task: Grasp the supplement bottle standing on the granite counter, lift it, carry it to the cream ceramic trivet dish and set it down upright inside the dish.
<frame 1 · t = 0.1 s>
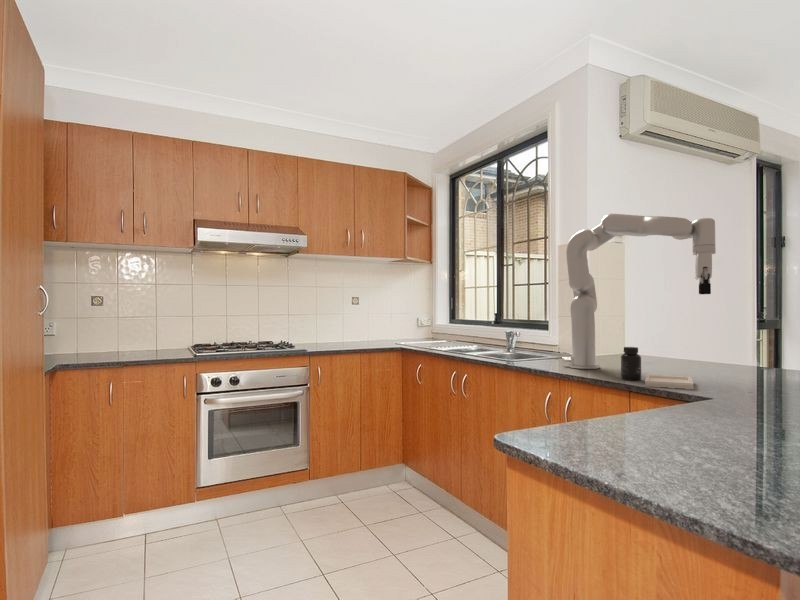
hand: (704, 294, 185), 31 cm above the worktop, fingers open, 9 cm apart
trivet dish: (668, 384, 164), on the worktop
supplement bottle: (631, 380, 175), on the worktop
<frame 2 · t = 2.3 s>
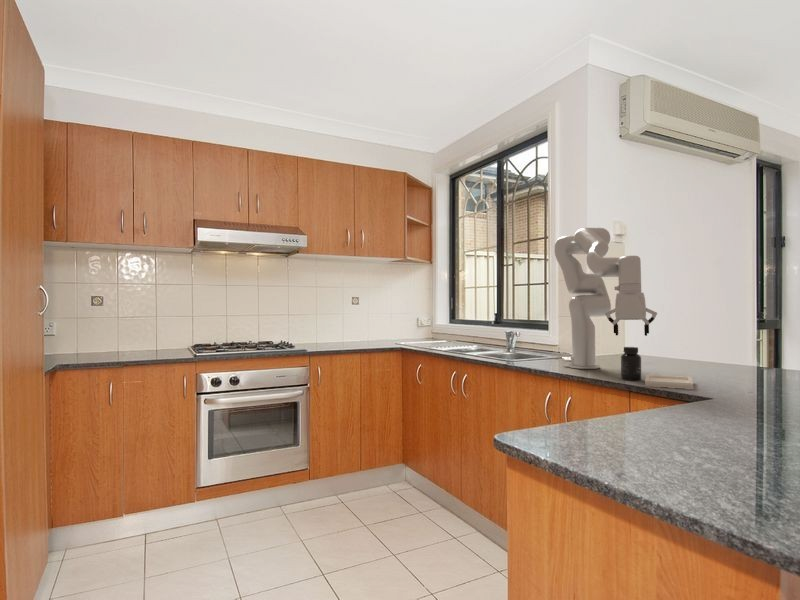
hand: (631, 335, 175), 16 cm above the worktop, fingers open, 9 cm apart
nothing on the worktop moved.
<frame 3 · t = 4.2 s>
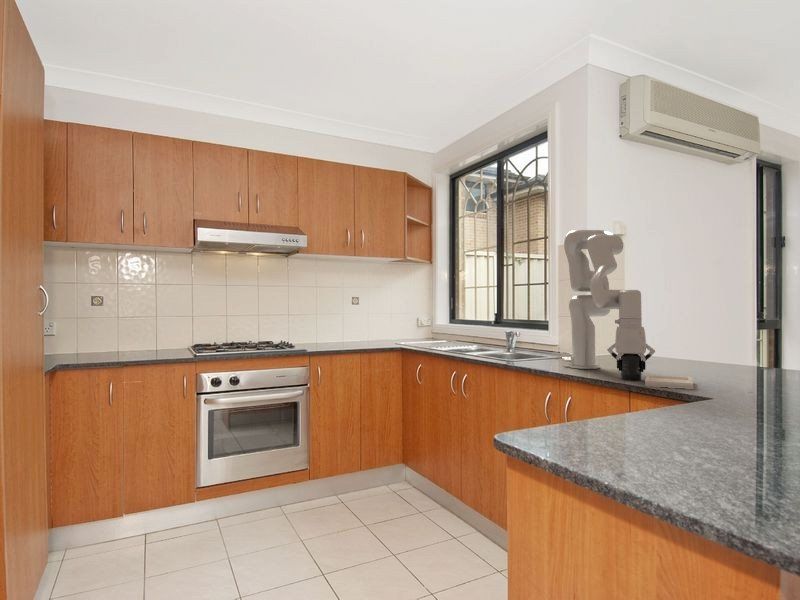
hand: (631, 370, 175), 3 cm above the worktop, fingers closed on supplement bottle, 6 cm apart
supplement bottle: (631, 380, 175), on the worktop, touching gripper
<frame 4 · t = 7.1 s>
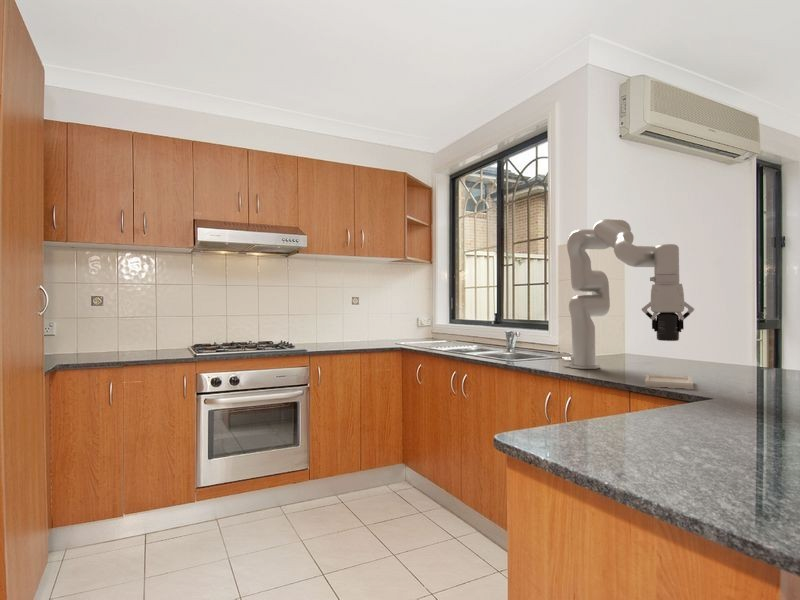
hand: (667, 331, 164), 19 cm above the worktop, fingers closed on supplement bottle, 6 cm apart
supplement bottle: (667, 340, 164), point 15 cm above the worktop, touching gripper
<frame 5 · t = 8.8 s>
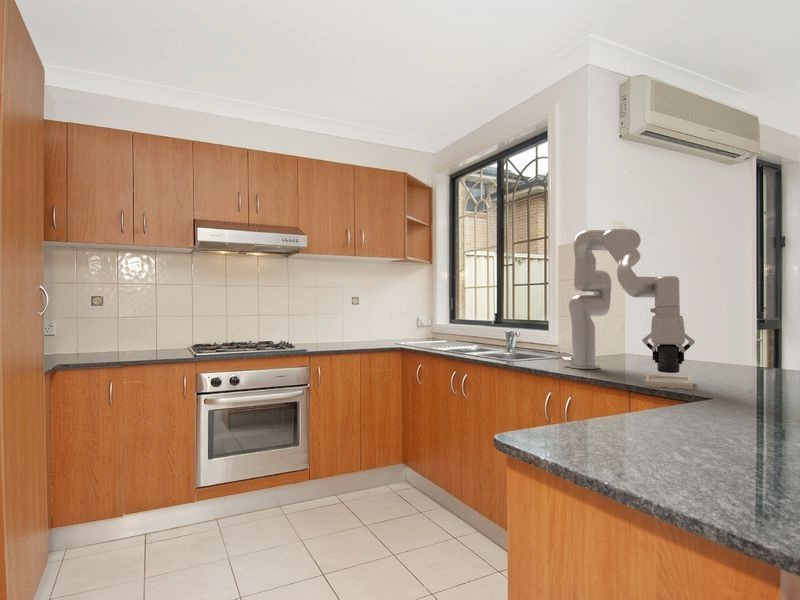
hand: (668, 362, 164), 8 cm above the worktop, fingers closed on supplement bottle, 6 cm apart
supplement bottle: (668, 372, 164), point 4 cm above the worktop, touching gripper
when the fingers open (5 cm above the worktop, at t = 10.3 s): supplement bottle stays where it is, resting on trivet dish.
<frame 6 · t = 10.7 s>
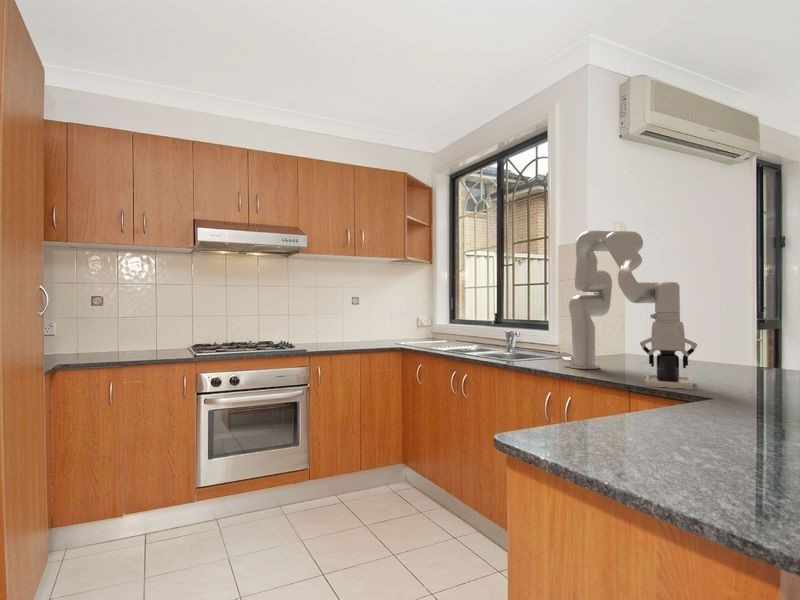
hand: (668, 367, 164), 6 cm above the worktop, fingers open, 9 cm apart
supplement bottle: (668, 381, 164), point 1 cm above the worktop, touching trivet dish
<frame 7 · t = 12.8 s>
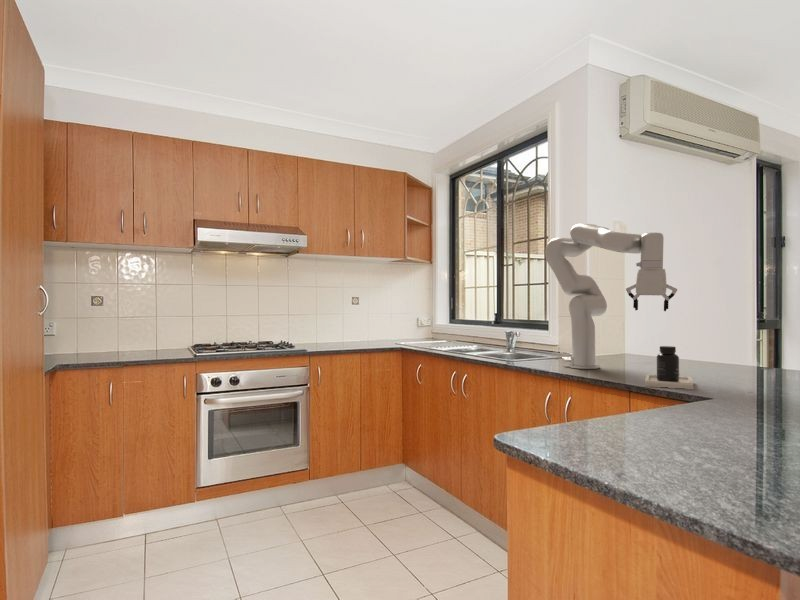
hand: (650, 310, 180), 25 cm above the worktop, fingers open, 9 cm apart
nothing on the worktop moved.
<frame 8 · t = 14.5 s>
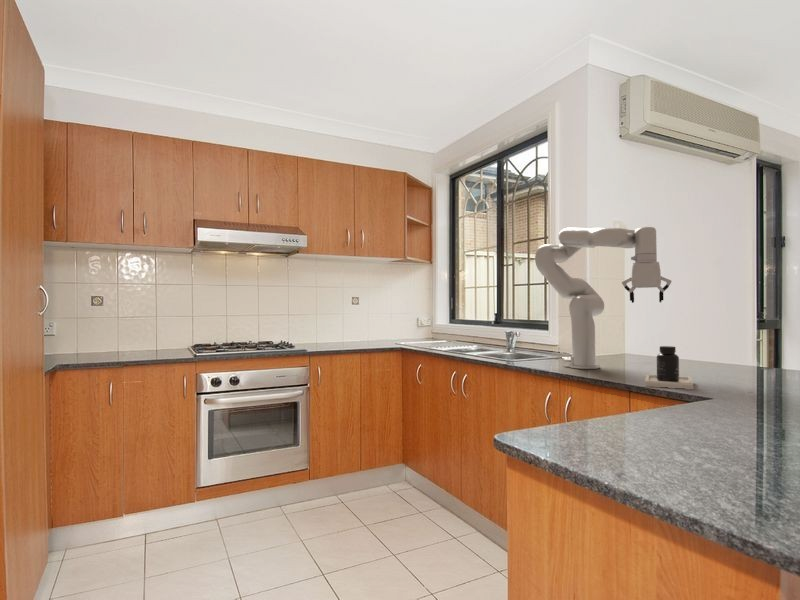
hand: (646, 302, 186), 28 cm above the worktop, fingers open, 9 cm apart
nothing on the worktop moved.
at the end: supplement bottle inside the target area on the trivet dish (0.1 cm from its centre), point 1.0 cm above the trivet dish's base; supplement bottle tilted 0°; the gripper is holding nothing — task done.
